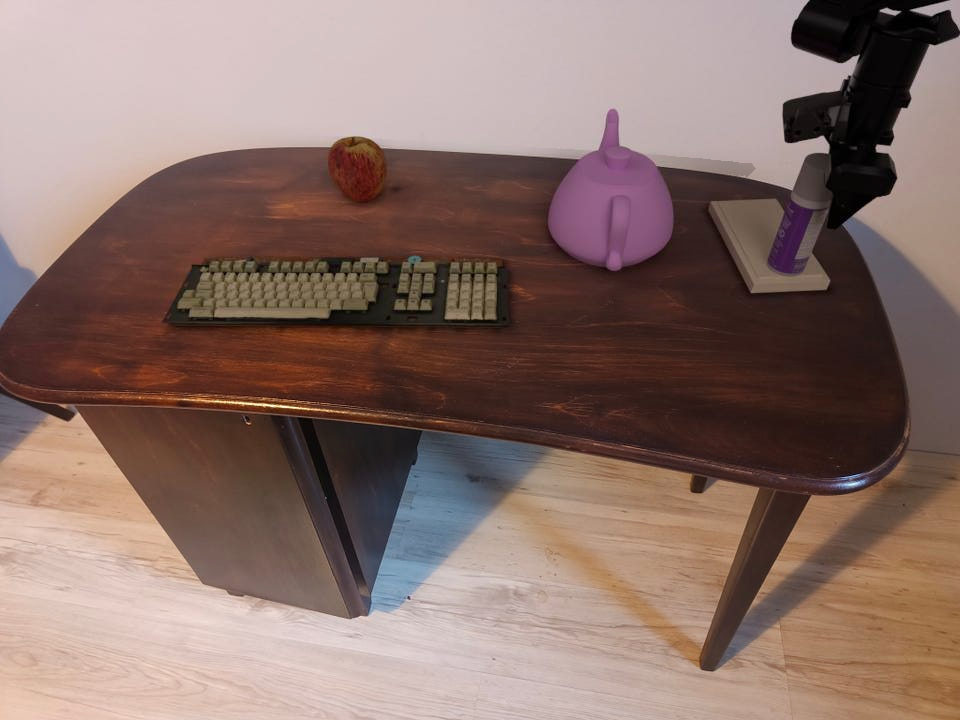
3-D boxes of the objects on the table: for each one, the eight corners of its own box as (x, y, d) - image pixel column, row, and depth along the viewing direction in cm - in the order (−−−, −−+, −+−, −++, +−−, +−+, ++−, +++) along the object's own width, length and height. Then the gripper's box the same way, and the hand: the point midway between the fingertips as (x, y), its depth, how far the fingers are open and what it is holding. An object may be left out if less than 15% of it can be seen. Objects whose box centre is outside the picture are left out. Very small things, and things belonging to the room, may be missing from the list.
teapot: (680, 287, 85) (703, 197, 75) (547, 285, 86) (552, 196, 77) (656, 189, 103) (672, 105, 93) (546, 188, 104) (550, 106, 94)
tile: (826, 290, 84) (831, 278, 82) (750, 293, 84) (754, 281, 82) (772, 207, 98) (776, 196, 96) (708, 210, 98) (710, 198, 96)
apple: (325, 206, 102) (311, 148, 95) (349, 178, 108) (338, 121, 101) (377, 214, 100) (367, 155, 93) (399, 185, 106) (391, 127, 99)
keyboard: (163, 329, 82) (155, 314, 81) (202, 260, 93) (196, 246, 91) (510, 330, 80) (510, 315, 78) (511, 260, 90) (511, 245, 89)
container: (758, 261, 85) (794, 157, 75) (785, 251, 87) (824, 148, 76) (784, 280, 82) (825, 175, 72) (811, 270, 84) (856, 165, 73)
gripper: (799, 39, 74) (762, 162, 85) (799, 105, 62) (756, 239, 73) (905, 47, 71) (852, 174, 83) (927, 118, 59) (862, 256, 70)
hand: (829, 207), depth 77 cm, fingers open, 9 cm apart
